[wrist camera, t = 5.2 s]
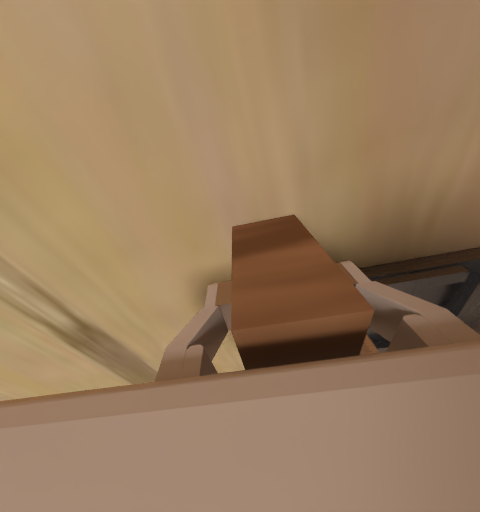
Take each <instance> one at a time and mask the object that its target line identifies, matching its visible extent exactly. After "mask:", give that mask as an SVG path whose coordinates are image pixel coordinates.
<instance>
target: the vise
mask: <svg viewBox="0 0 480 512" xmlns="http://www.w3.org/2000/svg"><path fill="white" fill-rule="evenodd" d="M360 270H361V271H362V272H363V273H364V274H365V275H366V276H367V277H368V278H369V279H370V280H371V281H372V282H373V281H376V282H379V283H381V284H384V285H386V286H389V287H392V288H394V289H397V290H399V291H402V292H404V293H407V294H410V295H412V296H415V297H417V298H420V299H422V300H425V301H428V302H430V303H433V304H435V305H438V306H440V307H443V308H446V309H447V310H449V311H450V312H451V313H452V314H454V315H455V316H456V317H458V318H459V319H460V320H461V321H463V322H464V323H465V324H466V325H468V326H469V327H470V328H472V329H473V330H474V331H475V332H477V333H478V334H479V335H480V248H474V249H468V250H463V251H457V252H451V253H446V254H440V255H435V256H429V257H423V258H418V259H412V260H406V261H401V262H395V263H390V264H384V265H378V266H373V267H367V268H361V269H360ZM367 336H368V337H369V338H370V340H371V341H372V343H373V344H374V345H375V347H376V348H377V350H378V351H379V352H380V353H383V352H386V351H387V349H388V347H389V345H390V343H391V342H389V341H388V340H387V339H385V338H384V337H382V336H381V335H379V334H378V333H376V332H375V331H374V330H372V329H371V328H368V331H367Z"/></svg>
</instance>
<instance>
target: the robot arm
mask: <svg viewBox="0 0 480 512" xmlns="http://www.w3.org/2000/svg"><path fill="white" fill-rule="evenodd" d="M336 265H337V266H338V267H339V268H340V269H341V271H342V272H343V273H344V274H345V275H346V276H347V278H348V279H349V280H350V281H351V282H352V284H353V285H354V286H355V287H356V288H357V290H358V291H359V292H360V293H361V294H362V295H363V297H364V298H365V299H366V300H367V301H368V303H369V304H370V305H371V306H372V307H373V308H374V310H375V311H374V313H373V316H372V319H371V322H370V325H369V328H371V329H372V330H374V331H375V332H376V333H378V334H379V335H381V336H382V337H384V338H385V339H387V340H388V341H389V342H391V343H390V345H389V347H388V349H387V351H386V352H383V353H375V354H367V355H359V356H351V357H343V358H336V359H328V360H320V361H312V362H304V363H297V364H289V365H281V366H273V367H266V368H258V369H250V370H242V371H234V372H227V373H219V374H218V373H217V371H216V369H215V367H214V366H213V364H212V362H211V361H212V360H213V358H214V356H215V354H216V352H217V351H218V349H219V347H220V345H221V343H222V341H223V340H224V338H225V336H226V334H227V332H228V330H231V302H232V280H231V281H224V282H219V283H211V284H209V285H208V289H207V295H206V300H205V306H204V308H202V309H200V311H199V312H198V313H197V314H196V315H195V316H194V317H193V318H192V319H191V321H190V322H189V323H188V324H187V325H186V326H185V327H184V328H183V330H182V331H181V332H180V333H179V334H178V335H177V336H176V337H175V338H174V340H173V341H172V342H171V343H170V344H169V345H168V346H167V347H166V349H165V352H164V355H163V358H162V361H161V364H160V367H159V370H158V373H157V376H156V379H155V382H148V383H140V384H132V385H124V386H117V387H109V388H101V389H93V390H85V391H77V392H69V393H61V394H53V395H45V396H38V397H30V398H22V399H13V400H5V401H0V512H480V335H479V334H478V333H477V332H475V331H474V330H473V329H472V328H470V327H469V326H468V325H466V324H465V323H464V322H463V321H461V320H460V319H459V318H458V317H456V316H455V315H454V314H452V313H451V312H450V311H449V310H447V309H446V308H443V307H440V306H438V305H435V304H433V303H430V302H428V301H425V300H422V299H420V298H417V297H415V296H412V295H410V294H407V293H404V292H402V291H399V290H397V289H394V288H392V287H389V286H386V285H384V284H381V283H379V282H376V281H373V282H372V281H371V280H370V279H369V278H368V277H367V276H366V275H365V274H364V273H363V272H362V271H361V270H360V269H359V268H358V267H357V266H356V265H355V264H354V263H353V262H351V261H349V260H348V261H343V262H338V263H336Z"/></svg>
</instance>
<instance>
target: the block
mask: <svg viewBox="0 0 480 512" xmlns="http://www.w3.org/2000/svg"><path fill="white" fill-rule="evenodd" d="M374 311H375V310H374V308H373V307H372V306H371V305H370V304H369V303H368V301H367V300H366V299H365V298H364V297H363V295H362V294H361V293H360V292H359V291H358V290H357V288H356V287H355V286H354V285H353V284H352V282H351V281H350V280H349V279H348V278H347V276H346V275H345V274H344V273H343V272H342V271H341V269H340V268H339V267H338V266H337V265H336V263H335V262H334V261H333V260H332V259H331V258H330V256H329V255H328V254H327V253H326V252H325V250H324V249H323V248H322V247H321V246H320V245H319V243H318V242H317V241H316V240H315V239H314V237H313V236H312V235H311V234H310V233H309V231H308V230H307V229H306V228H305V227H304V226H303V224H302V223H301V222H300V221H299V220H298V218H297V217H296V216H295V215H290V216H285V217H280V218H275V219H270V220H264V221H259V222H254V223H249V224H244V225H238V226H233V227H232V302H231V332H232V335H233V337H234V340H235V343H236V346H237V348H238V351H239V354H240V357H241V359H242V362H243V365H244V368H245V370H250V369H258V368H266V367H273V366H281V365H289V364H297V363H304V362H312V361H320V360H328V359H336V358H343V357H351V356H359V354H360V351H361V349H362V346H363V343H364V340H365V337H366V334H367V331H368V328H369V325H370V322H371V319H372V316H373V313H374Z"/></svg>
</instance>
